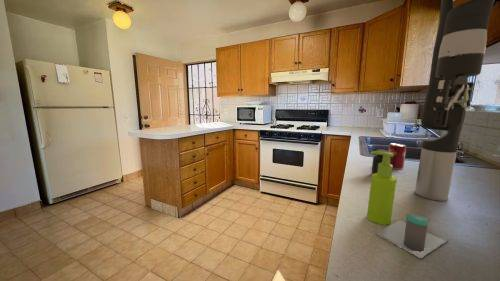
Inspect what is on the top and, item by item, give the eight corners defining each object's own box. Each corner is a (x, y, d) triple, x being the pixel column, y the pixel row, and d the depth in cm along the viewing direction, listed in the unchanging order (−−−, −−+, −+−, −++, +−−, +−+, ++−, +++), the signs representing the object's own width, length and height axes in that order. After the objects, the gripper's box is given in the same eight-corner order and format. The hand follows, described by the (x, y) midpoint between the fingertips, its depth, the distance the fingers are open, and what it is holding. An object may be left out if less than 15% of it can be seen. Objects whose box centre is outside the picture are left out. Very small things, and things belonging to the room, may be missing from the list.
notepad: (402, 221, 60) (403, 219, 60) (447, 241, 52) (448, 239, 51) (375, 234, 54) (375, 231, 54) (420, 259, 46) (421, 257, 45)
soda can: (389, 168, 107) (392, 145, 105) (384, 164, 114) (387, 142, 112) (405, 169, 105) (409, 146, 103) (400, 165, 112) (403, 143, 110)
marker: (409, 239, 51) (413, 212, 50) (428, 248, 48) (432, 220, 47) (399, 243, 50) (403, 215, 49) (417, 253, 46) (422, 224, 45)
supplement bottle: (391, 177, 95) (395, 151, 93) (381, 179, 92) (384, 152, 90) (377, 172, 101) (380, 148, 99) (367, 174, 99) (370, 149, 96)
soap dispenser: (365, 210, 66) (372, 148, 62) (391, 218, 62) (401, 152, 58) (361, 218, 61) (368, 152, 58) (389, 227, 57) (399, 156, 53)
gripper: (452, 60, 54) (441, 122, 57) (425, 55, 48) (414, 125, 51) (495, 55, 48) (480, 125, 51) (470, 47, 41) (455, 129, 44)
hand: (447, 125), depth 51 cm, fingers open, 8 cm apart
